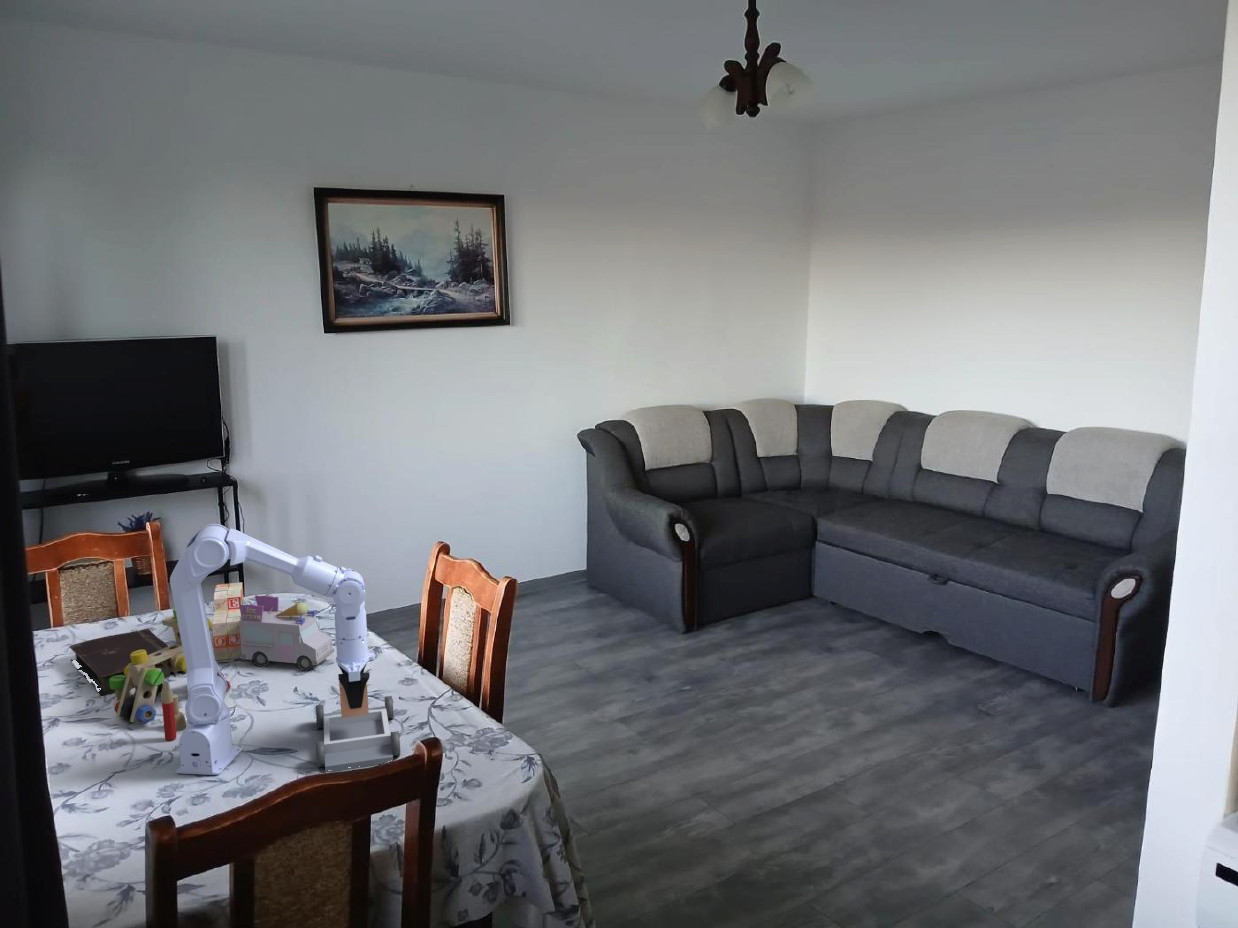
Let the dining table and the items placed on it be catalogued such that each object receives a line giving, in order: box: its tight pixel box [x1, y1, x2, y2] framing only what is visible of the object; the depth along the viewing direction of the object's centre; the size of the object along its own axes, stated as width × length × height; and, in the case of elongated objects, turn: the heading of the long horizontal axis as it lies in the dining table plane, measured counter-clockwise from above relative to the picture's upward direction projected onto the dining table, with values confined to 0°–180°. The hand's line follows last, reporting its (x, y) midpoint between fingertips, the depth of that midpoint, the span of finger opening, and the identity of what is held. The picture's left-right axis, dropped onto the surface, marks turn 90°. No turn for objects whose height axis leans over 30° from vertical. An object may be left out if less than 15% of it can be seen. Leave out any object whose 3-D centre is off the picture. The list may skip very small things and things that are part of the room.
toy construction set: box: [109, 607, 231, 742], centre depth 192 cm, size 27×22×21 cm
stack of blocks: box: [211, 582, 245, 661], centre depth 229 cm, size 21×6×12 cm, turn 20°
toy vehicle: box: [239, 594, 335, 672], centre depth 217 cm, size 9×20×15 cm, turn 78°
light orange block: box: [338, 680, 369, 718], centre depth 180 cm, size 5×5×6 cm
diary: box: [68, 628, 187, 697], centre depth 215 cm, size 19×25×5 cm
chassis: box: [315, 695, 401, 773], centre depth 182 cm, size 22×15×4 cm
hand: (355, 701), depth 180 cm, fingers closed on light orange block, 5 cm apart
